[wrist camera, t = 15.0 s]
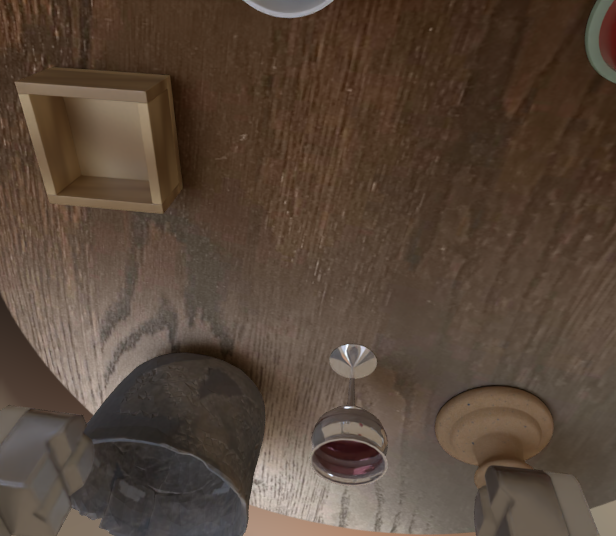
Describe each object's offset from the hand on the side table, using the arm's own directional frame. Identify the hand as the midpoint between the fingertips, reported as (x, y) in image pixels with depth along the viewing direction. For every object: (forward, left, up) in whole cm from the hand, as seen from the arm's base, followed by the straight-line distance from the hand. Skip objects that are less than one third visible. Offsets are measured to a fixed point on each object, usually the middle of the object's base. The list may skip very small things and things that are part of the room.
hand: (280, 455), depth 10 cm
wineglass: (+28, +3, -31) cm, 42 cm away
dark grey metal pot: (+33, -14, -31) cm, 48 cm away
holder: (+5, -18, -31) cm, 36 cm away
